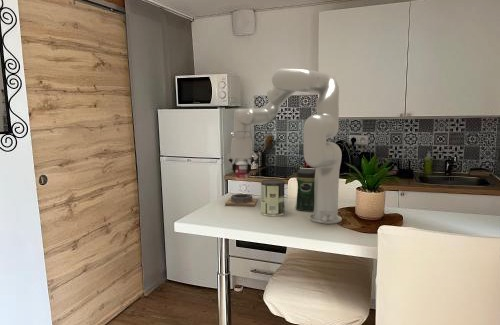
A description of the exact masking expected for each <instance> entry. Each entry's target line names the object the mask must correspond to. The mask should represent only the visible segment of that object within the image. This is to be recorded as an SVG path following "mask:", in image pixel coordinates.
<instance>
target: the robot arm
mask: <svg viewBox="0 0 500 325" xmlns="http://www.w3.org/2000/svg"><path fill="white" fill-rule="evenodd" d="M271 80H272V81H271V82H272V86H271V87H270V88H268V90H267V91H266V96H267V97H266V98H267V99H268V103H266V105H265V106H263V107H262V108H251V107H250V108H238V109H235V110H234V112H233V132H230V135H231V136H233V137H232V139H231V145H230V151H229V152H228V153H227V155H225V158H226V159H227V160H228V161H229V162H230V163H231V165H232V166H231V167H232V168H231V169H232V172H233V173H235V163H236V162H237V159H247V160H246V161H247V162H248V174H250V173H251V171H252V164H253V163H254V162H255V161H256V160H257V159H258V158H259V156H258V155H257V154H256V153H255V151H253V142H252V138H251V137H250V136H251V135H250V134H251V132H250V131H251V127H250V126H255V125H262V126H263V125H266V124H268V123H270V122H271V121H272V120H273V119H274V118H275V117H276V116H277V115H278V114H279V112H280V110H281V105H282V104H284V102H286V101H287V100H288V99H289V98H290V97H291V96H293V94H295V93H296V92H301V93H310V94H317V95H318V98H317V101H316V113H315V114H312V115H310V116H309V117H308V118H307V119H306V120H305V122H304V125H303V158H304V161H305V163H306V164H307V166H308V167H311V168H312V169H313V168H314V169H315V170H316V172H315V185H314V211H313V213H312V214H311V215H309V220H310V221H312V222H314V223H318V224H325V225H326V224H329V225H330V224H331V225H332V224H338V223H340V222H342V220H343V218H342V217H341V216H340V215H339V213H338V212H339V185H340V184H339V183H340V169H341V164H342V156H343V154H342V149H341V148H340V146H339V145H338V144H336V142H335V143H334V142H332V141H327V139H332V138H335V137H336V135H337V134H338V133H339V128H340V127H339V118H340V116H339V115H340V113H339V112H340V110H339V108H340V107H339V106H340V105H339V102H340V100H339V99H340V89H339V88H340V87H339V84H338V81H337V80H336V78H335V77H333V76H332V75H331V74H328V73H325V72H322V71H318V70H311V69H306V68H305V69H303V68H302V69H301V68H285V67H282V68H279V69H277V70H275V72H274V73H273V75H272V78H271Z"/></svg>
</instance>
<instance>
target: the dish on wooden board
mask: <svg viewBox="0 0 500 325" xmlns="http://www.w3.org/2000/svg"><path fill="white" fill-rule="evenodd" d="M257 203H258V198H255V197H254V198H253V195H252V194H249V193H237V194H231V196H230V197H229V198H228V200H227V201H226V202H225V204H224V207H246V208H248V207H249V208H251V207H252V208H253V207H255V206H256V204H257Z"/></svg>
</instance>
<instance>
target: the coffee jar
mask: <svg viewBox="0 0 500 325" xmlns="http://www.w3.org/2000/svg"><path fill="white" fill-rule="evenodd" d="M315 172H316V168H314V169H313V168H299V169H297V171H296V175H295V176H296V178H295V179H296V181H297V191H296V192H297V195H296V201H295V202H296V203H295V208H296V210H298V211H301V212H302V211H305V212H314V185H315Z"/></svg>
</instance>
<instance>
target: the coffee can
mask: <svg viewBox="0 0 500 325" xmlns="http://www.w3.org/2000/svg"><path fill="white" fill-rule="evenodd" d="M285 184H286V181H284V180H280V179H263V180H260V188H261V189H260V190H261V191H260V193H261V194H260V195H261V196H260V199H261V200H260V206H261V207H260V209H261V210H260V214H261V215H263V216H267V217H280V216H283V215H285Z"/></svg>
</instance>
